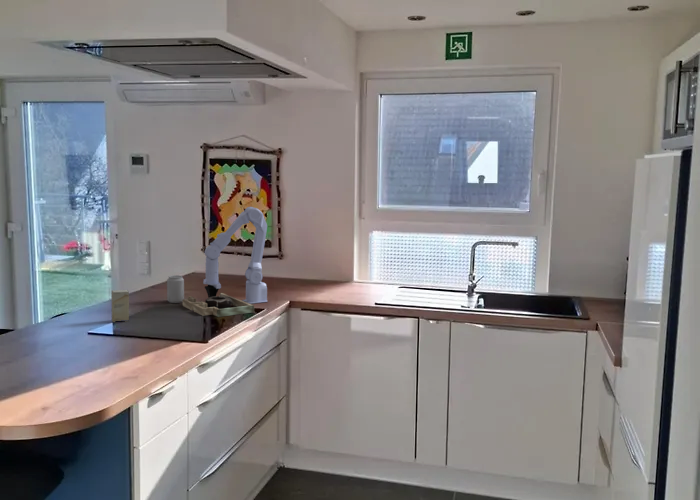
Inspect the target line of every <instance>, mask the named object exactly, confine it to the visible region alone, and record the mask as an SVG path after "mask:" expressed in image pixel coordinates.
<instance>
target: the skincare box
mask: <svg viewBox="0 0 700 500" xmlns="http://www.w3.org/2000/svg"><path fill="white" fill-rule="evenodd" d="M129 308H130V292H129V290H128V289H117V290H115V289H113V290H111V321H112V322H113V323H116V322H115V321H121V320H129V321H130V319H129V318H130V309H129Z"/></svg>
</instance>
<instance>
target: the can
mask: <svg viewBox="0 0 700 500" xmlns="http://www.w3.org/2000/svg"><path fill="white" fill-rule="evenodd" d="M166 290H167V291H166V292H167V293H166V299H167V302H168V303H170V304H179V303H183V299H185V279H184V277H183V275H179V274H178V275H177V274H176V275H175V274H174V275H173V274H172V275H169V276H168V278H167V279H166Z"/></svg>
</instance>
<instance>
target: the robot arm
mask: <svg viewBox="0 0 700 500" xmlns="http://www.w3.org/2000/svg"><path fill="white" fill-rule="evenodd" d="M250 223H251V224H252V225H253V226H254V228H255V233H254V238H253V244H252V251H251V256H250V262H249V263H248V267H247V269H246V270H245V273H244V276H245V278H246V281H245V299H242V300H241V301H244V302H246V303H249V304H252V305H254V304H260V303H268V287H267V286H268V285H267V283H265V282H263V281H262V280H263V268H262V261H263V255H264V249H265V244H266V243H265V242H266V237H267V231H268V223H267V221H266V219H265V216H264V213H263V212H262V211H261V210H260V209H259V208H257V207H253V206H247V207H246V208H245V209H244V211H242V212H241V213H240V214H239V215H238V216H237V217H236V219H235V220H233V223H232V224H231V225H230V226H229V227H228V228H227V230H226V231H225V232H220V233H217V235H216V238H215V239H214V240H213V241H212V242H210V243H209V245H208V246H206V248H205V250H204V255H205V279H204V278H203V282H202V283H203V285H206V286H204V289H205V291H206V293H207V298H209V297H214V296H217V294H218V292H219V290H221V288H222V284H221V283H220V280H219V257H220V254H221V252H223V251H224V249H225V248H226V247H227V246H228V245H229V243H231V241H232V240H231V239H232V238H231V237H232V236H233V235H234V234H235V233H236V232H237V231H238V230H239V229H240V228H241V227H242V226H243V225H246V224H250Z"/></svg>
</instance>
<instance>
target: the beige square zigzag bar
mask: <svg viewBox="0 0 700 500" xmlns="http://www.w3.org/2000/svg"><path fill="white" fill-rule="evenodd" d="M219 296H224V297H228V298H230V299H231V301H232V304H231V306H232V305H233V307H228V308H223V309H218V308H216V307H207V303H205V301H197V298H196V297H193V296H191V295H190V296H189V295H188V297H187V298H184V299H183V301H182V307H183V308H186V309H188V310H190V311H193V312H194V313H197V314H198V315H200V316H202V317H204V316H210V315H212V316H215V317H218V318H220V317H227V316H235V315H243V314H250V313H251V314H253V313H255V305H254V304H249V303H247V302H244V301H242V300H241V299H239V298H236V297H234V296H231V295H228V294H227V293H224V292H221V293H219Z"/></svg>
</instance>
